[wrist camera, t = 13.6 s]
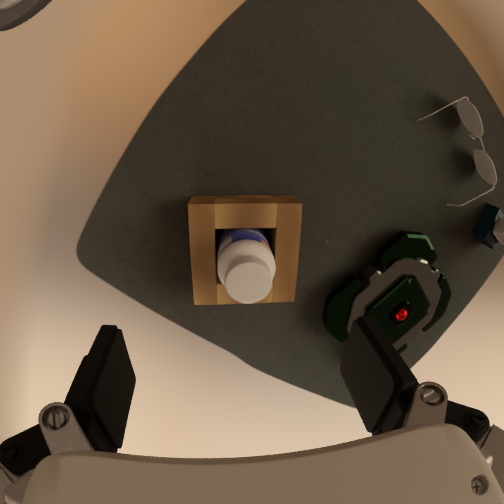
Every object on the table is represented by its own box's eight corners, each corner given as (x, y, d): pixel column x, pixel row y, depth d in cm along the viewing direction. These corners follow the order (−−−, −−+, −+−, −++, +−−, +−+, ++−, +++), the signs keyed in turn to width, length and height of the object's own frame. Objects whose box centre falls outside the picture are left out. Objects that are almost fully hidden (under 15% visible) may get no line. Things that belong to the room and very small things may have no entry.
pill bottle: (274, 232, 33) (294, 269, 24) (251, 271, 35) (262, 319, 26) (231, 211, 32) (235, 242, 23) (209, 252, 34) (206, 296, 25)
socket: (196, 287, 35) (194, 304, 31) (191, 196, 31) (187, 204, 27) (287, 284, 36) (294, 301, 32) (293, 195, 32) (302, 203, 28)
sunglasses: (480, 180, 33) (499, 191, 29) (442, 205, 36) (460, 217, 31) (451, 94, 28) (472, 95, 24) (408, 116, 31) (427, 119, 26)
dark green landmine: (408, 214, 34) (429, 225, 30) (448, 295, 40) (463, 308, 36) (306, 304, 38) (316, 324, 33) (367, 365, 44) (377, 383, 39)
